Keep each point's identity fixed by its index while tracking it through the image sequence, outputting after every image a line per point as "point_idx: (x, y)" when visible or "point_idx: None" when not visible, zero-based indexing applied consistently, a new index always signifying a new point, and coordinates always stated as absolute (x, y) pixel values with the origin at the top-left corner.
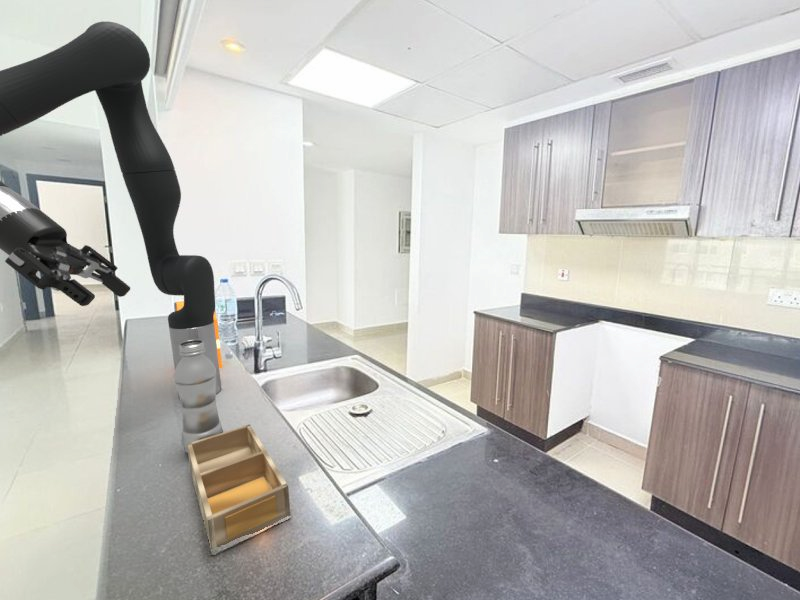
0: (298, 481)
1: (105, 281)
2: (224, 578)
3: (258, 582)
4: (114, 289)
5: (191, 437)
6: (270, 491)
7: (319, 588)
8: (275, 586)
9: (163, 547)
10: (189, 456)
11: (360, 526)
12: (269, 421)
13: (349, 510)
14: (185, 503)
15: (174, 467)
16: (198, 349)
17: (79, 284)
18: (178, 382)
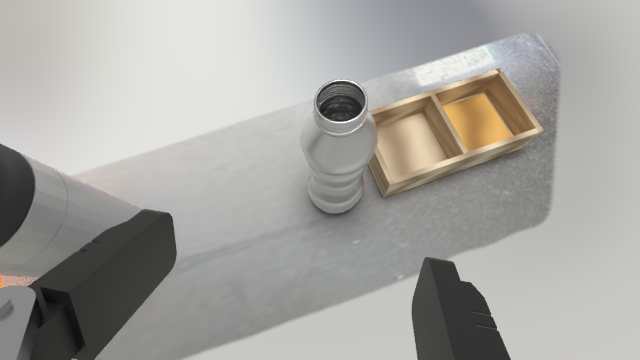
0: (428, 86)
1: (93, 334)
2: (542, 136)
3: (548, 112)
4: (144, 284)
5: (361, 189)
6: (507, 82)
7: (556, 73)
8: (552, 100)
9: (503, 193)
10: (404, 182)
11: (499, 42)
12: (284, 120)
13: (479, 48)
14: (442, 189)
15: (367, 221)
16: (358, 92)
17: (455, 327)
18: (368, 161)
